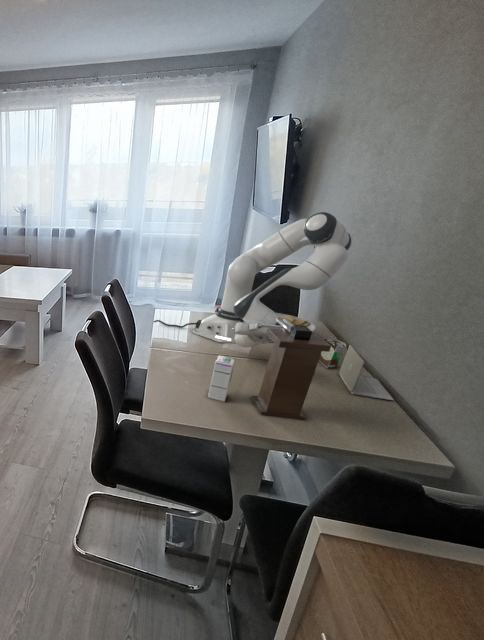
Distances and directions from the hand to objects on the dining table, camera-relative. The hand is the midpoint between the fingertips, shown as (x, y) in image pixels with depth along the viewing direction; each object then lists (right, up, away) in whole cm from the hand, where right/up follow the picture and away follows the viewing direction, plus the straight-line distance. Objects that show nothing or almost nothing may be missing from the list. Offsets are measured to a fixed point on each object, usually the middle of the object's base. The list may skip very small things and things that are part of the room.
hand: (273, 326), depth 149 cm
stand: (-4, -28, -8) cm, 29 cm away
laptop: (+38, -23, +7) cm, 45 cm away
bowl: (+41, +1, +62) cm, 74 cm away
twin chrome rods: (-2, -2, -13) cm, 14 cm away
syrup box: (-21, -25, -2) cm, 33 cm away
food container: (+39, -15, +25) cm, 49 cm away
